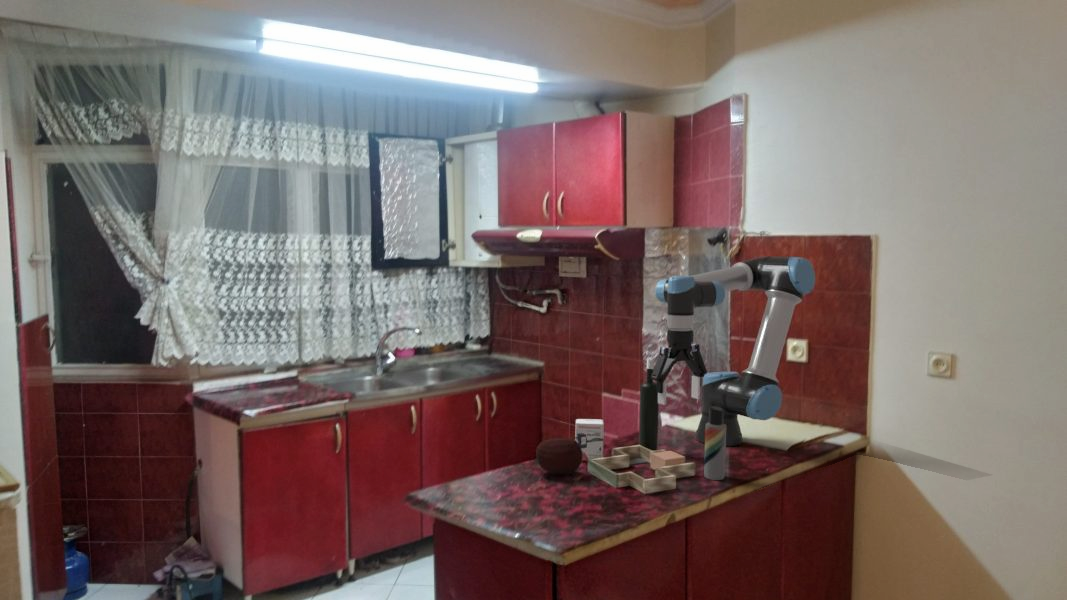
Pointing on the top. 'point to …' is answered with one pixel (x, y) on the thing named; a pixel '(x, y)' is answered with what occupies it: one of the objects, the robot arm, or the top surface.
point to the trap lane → (632, 456)
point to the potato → (559, 455)
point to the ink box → (590, 438)
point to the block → (666, 459)
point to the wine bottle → (649, 411)
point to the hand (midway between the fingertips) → (679, 401)
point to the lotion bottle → (715, 445)
